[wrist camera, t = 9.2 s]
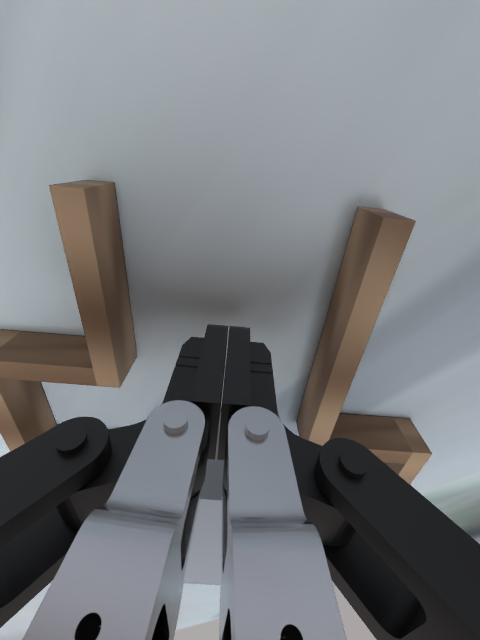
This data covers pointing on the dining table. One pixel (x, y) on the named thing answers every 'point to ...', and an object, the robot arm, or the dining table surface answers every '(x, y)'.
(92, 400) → the dining table surface
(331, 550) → the robot arm
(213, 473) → the block
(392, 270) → the trap lane
